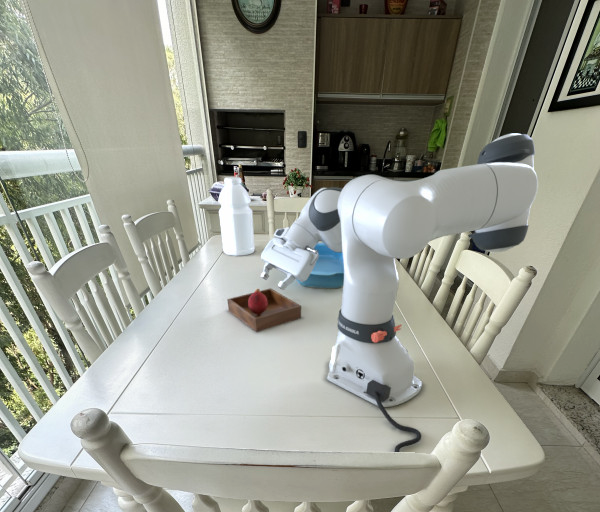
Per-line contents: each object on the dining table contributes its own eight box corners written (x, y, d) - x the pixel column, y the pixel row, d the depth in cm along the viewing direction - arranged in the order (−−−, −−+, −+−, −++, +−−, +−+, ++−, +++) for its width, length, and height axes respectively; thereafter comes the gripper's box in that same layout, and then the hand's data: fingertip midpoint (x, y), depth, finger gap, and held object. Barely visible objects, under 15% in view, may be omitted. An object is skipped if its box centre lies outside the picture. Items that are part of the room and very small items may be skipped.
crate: (301, 318, 106) (301, 305, 103) (256, 332, 98) (255, 319, 96) (271, 299, 116) (270, 288, 114) (228, 311, 109) (227, 299, 106)
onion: (265, 320, 103) (263, 293, 98) (246, 318, 104) (244, 291, 99) (270, 311, 108) (269, 286, 103) (252, 309, 109) (250, 284, 104)
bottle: (252, 256, 151) (248, 180, 134) (220, 255, 151) (211, 179, 134) (256, 247, 162) (252, 175, 145) (226, 246, 162) (218, 175, 145)
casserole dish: (353, 295, 120) (355, 274, 116) (288, 291, 122) (288, 270, 117) (350, 261, 149) (352, 243, 144) (298, 258, 150) (298, 240, 146)
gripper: (327, 259, 97) (298, 300, 99) (285, 241, 110) (260, 279, 112) (315, 244, 92) (285, 288, 94) (273, 228, 105) (247, 267, 107)
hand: (271, 283), depth 103 cm, fingers open, 8 cm apart
